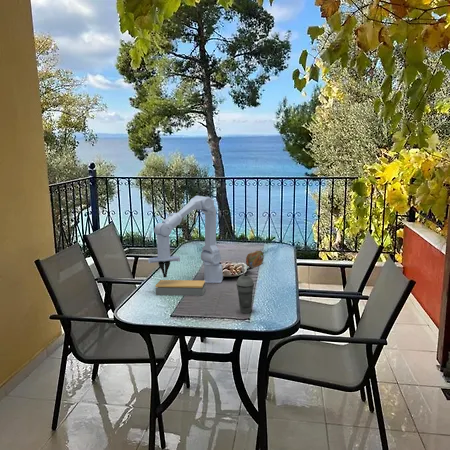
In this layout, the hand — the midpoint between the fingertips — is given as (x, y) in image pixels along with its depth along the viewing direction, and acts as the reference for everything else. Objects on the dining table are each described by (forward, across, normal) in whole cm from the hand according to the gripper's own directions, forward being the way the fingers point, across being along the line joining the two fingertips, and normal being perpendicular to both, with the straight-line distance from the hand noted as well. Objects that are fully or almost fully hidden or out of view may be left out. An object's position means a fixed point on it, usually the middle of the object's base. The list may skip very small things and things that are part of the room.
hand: (165, 276), depth 200 cm
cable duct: (+8, -7, 0) cm, 11 cm away
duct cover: (+4, -7, 0) cm, 8 cm away
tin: (+8, -51, -35) cm, 63 cm away
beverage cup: (+8, -32, +30) cm, 45 cm away
